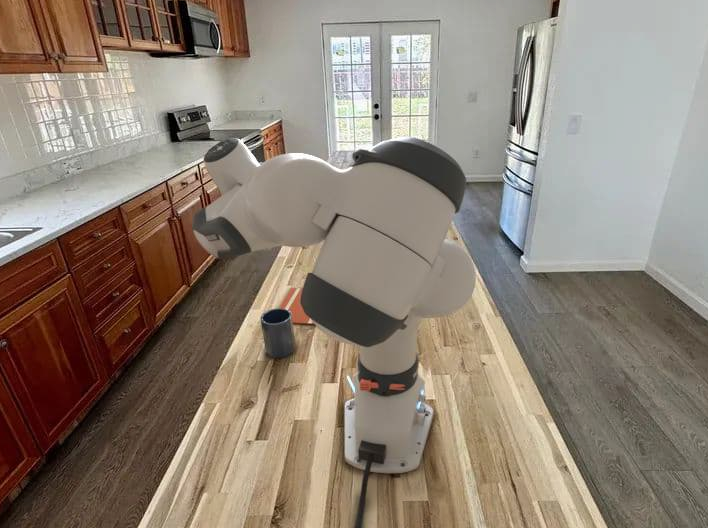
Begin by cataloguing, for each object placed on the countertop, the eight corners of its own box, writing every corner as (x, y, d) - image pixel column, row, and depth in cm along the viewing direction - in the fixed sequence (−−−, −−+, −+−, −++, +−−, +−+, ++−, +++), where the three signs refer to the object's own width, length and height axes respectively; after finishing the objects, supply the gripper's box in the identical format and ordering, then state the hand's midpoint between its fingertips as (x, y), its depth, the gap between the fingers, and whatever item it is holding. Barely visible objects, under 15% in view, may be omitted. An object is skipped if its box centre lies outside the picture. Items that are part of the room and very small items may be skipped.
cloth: (318, 325, 123) (318, 323, 122) (270, 322, 124) (270, 321, 124) (333, 291, 140) (333, 289, 140) (291, 289, 142) (291, 288, 142)
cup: (290, 359, 109) (286, 325, 105) (261, 357, 110) (255, 323, 106) (299, 341, 116) (295, 309, 111) (271, 339, 117) (266, 307, 112)
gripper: (211, 223, 89) (243, 261, 101) (303, 215, 84) (326, 256, 95) (220, 200, 93) (250, 239, 104) (308, 191, 88) (330, 233, 99)
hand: (287, 247), depth 100 cm, fingers open, 8 cm apart
